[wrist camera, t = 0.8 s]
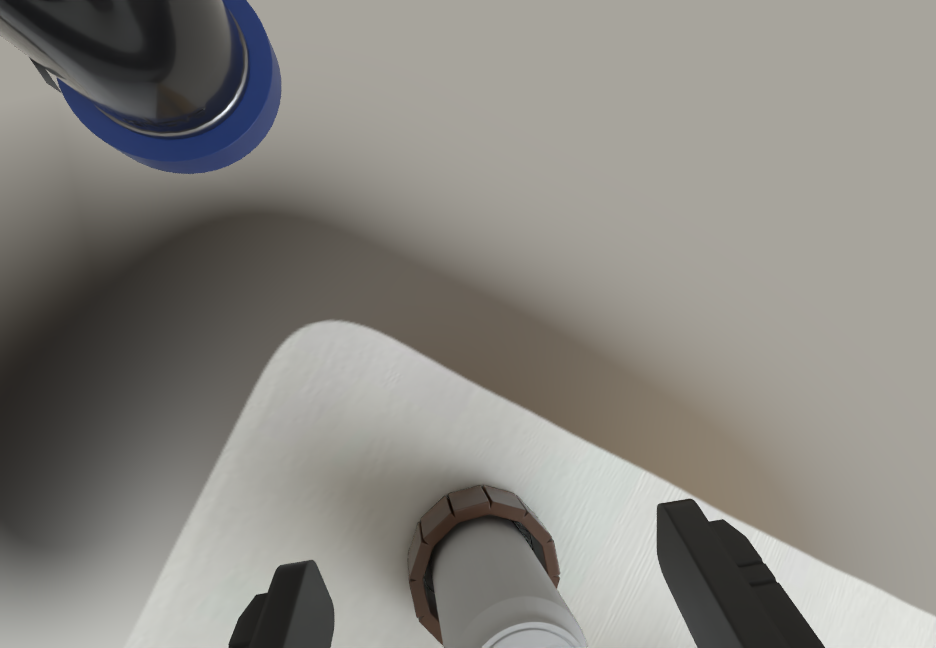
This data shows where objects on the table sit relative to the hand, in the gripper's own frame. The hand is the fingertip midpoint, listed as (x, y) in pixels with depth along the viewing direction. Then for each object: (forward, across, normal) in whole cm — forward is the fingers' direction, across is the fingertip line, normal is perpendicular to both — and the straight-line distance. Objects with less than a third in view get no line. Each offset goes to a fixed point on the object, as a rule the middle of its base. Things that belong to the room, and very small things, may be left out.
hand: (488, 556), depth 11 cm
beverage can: (+15, +2, +18) cm, 23 cm away
